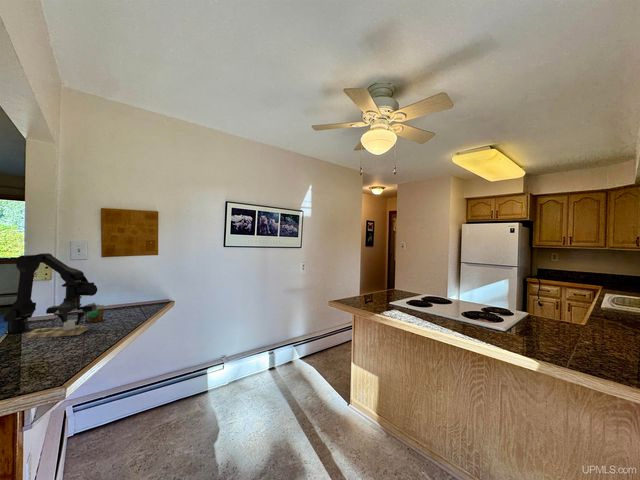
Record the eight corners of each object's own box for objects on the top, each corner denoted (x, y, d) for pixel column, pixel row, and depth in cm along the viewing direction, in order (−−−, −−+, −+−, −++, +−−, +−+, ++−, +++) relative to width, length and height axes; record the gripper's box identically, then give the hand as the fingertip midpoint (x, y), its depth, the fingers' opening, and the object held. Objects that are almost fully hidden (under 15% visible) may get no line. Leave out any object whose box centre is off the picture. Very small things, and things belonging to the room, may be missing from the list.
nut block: (63, 334, 135) (63, 322, 135) (68, 331, 139) (68, 319, 139) (74, 333, 136) (74, 321, 136) (79, 330, 140) (79, 319, 141)
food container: (81, 321, 158) (81, 304, 158) (93, 319, 163) (94, 302, 163) (91, 324, 152) (91, 307, 152) (103, 322, 157) (104, 305, 158)
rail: (24, 338, 128) (25, 334, 128) (37, 332, 137) (37, 328, 137) (78, 334, 135) (78, 330, 135) (87, 329, 143) (87, 325, 143)
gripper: (39, 299, 127) (37, 331, 127) (87, 297, 133) (85, 328, 133) (54, 294, 138) (52, 325, 137) (97, 293, 144) (96, 322, 143)
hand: (71, 325), depth 138 cm, fingers open, 5 cm apart
